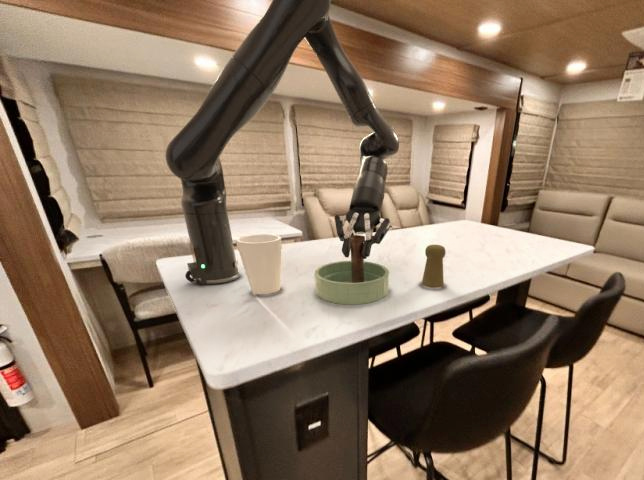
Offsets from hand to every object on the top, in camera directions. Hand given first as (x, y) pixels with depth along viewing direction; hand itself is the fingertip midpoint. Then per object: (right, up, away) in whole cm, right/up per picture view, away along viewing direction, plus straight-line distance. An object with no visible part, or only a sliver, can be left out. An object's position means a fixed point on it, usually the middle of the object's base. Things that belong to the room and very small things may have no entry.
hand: (354, 256), depth 70 cm
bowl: (-2, -8, +7) cm, 11 cm away
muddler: (0, -8, +5) cm, 9 cm away
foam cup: (-22, -8, +5) cm, 24 cm away
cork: (+19, -6, +13) cm, 24 cm away
